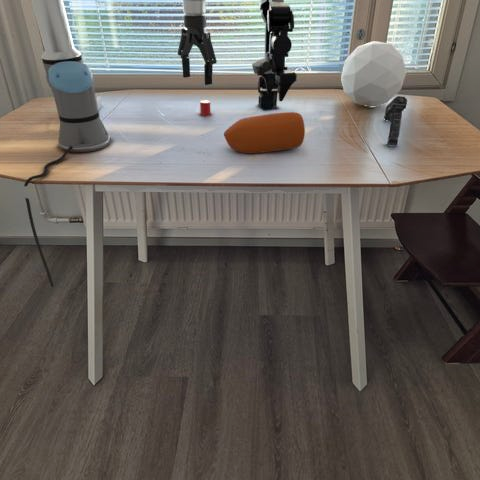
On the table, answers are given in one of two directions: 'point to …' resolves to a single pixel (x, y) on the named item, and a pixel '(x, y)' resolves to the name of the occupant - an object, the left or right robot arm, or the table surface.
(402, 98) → the futuristic handgun
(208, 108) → the can
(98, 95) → the charger
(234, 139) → the orange tapered rounded cylinder
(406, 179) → the table surface
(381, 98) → the decorative sphere
